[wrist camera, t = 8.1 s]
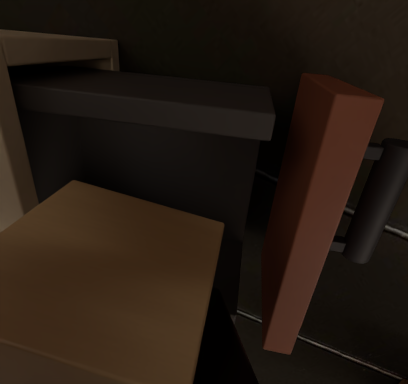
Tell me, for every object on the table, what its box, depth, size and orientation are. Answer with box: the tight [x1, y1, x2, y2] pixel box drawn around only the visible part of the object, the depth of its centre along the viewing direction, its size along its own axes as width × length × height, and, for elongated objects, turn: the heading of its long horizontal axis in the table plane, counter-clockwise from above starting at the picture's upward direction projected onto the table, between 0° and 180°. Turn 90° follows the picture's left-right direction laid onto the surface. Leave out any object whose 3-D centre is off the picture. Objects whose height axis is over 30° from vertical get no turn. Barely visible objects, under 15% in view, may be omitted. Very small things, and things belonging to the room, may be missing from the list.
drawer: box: [8, 66, 408, 354], centre depth 13 cm, size 16×10×6 cm, turn 85°
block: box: [0, 180, 224, 384], centre depth 7 cm, size 4×4×4 cm
